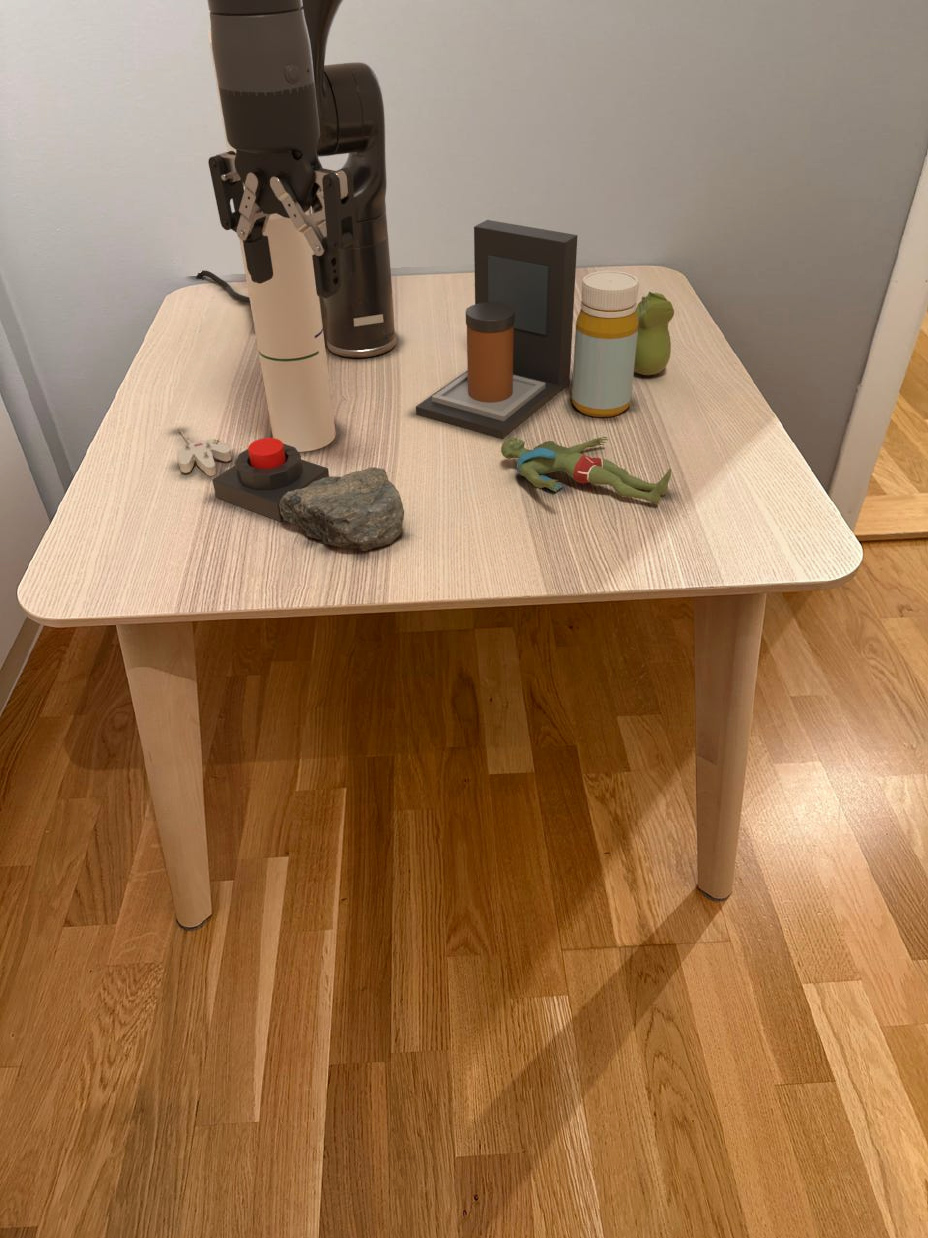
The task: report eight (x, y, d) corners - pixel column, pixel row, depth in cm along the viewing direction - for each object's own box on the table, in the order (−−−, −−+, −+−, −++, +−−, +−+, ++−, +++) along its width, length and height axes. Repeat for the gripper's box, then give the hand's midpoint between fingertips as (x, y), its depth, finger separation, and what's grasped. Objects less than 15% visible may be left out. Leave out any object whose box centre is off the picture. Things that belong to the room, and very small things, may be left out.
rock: (413, 504, 96) (410, 461, 93) (400, 561, 88) (396, 516, 85) (294, 501, 97) (287, 458, 94) (271, 557, 89) (262, 513, 86)
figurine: (648, 499, 87) (473, 454, 93) (640, 536, 89) (469, 491, 95) (686, 448, 100) (530, 412, 105) (679, 483, 102) (526, 445, 107)
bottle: (628, 421, 109) (641, 293, 99) (568, 416, 110) (575, 289, 100) (632, 394, 114) (644, 270, 104) (574, 390, 115) (582, 267, 106)
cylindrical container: (345, 426, 109) (320, 200, 93) (319, 455, 104) (287, 222, 88) (291, 418, 111) (257, 195, 95) (262, 446, 106) (221, 216, 90)
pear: (653, 360, 121) (662, 283, 115) (676, 376, 118) (686, 298, 111) (616, 368, 120) (623, 291, 113) (638, 385, 116) (646, 306, 110)
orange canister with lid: (498, 406, 109) (498, 324, 103) (458, 396, 112) (456, 314, 105) (529, 383, 114) (530, 302, 108) (489, 373, 117) (489, 293, 110)
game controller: (198, 483, 100) (193, 462, 98) (137, 451, 106) (131, 430, 104) (240, 462, 103) (236, 441, 102) (179, 432, 109) (174, 411, 108)
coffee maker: (487, 363, 122) (487, 219, 110) (569, 383, 117) (577, 234, 105) (415, 414, 111) (406, 260, 100) (502, 438, 106) (503, 280, 95)
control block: (215, 497, 98) (208, 464, 95) (267, 464, 103) (261, 431, 100) (280, 521, 94) (274, 487, 91) (330, 485, 99) (326, 452, 97)
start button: (243, 464, 96) (240, 449, 95) (266, 449, 98) (264, 434, 97) (269, 473, 94) (266, 458, 93) (293, 458, 96) (290, 443, 95)
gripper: (367, 76, 73) (384, 288, 83) (231, 63, 79) (262, 262, 89) (305, 94, 68) (331, 316, 78) (165, 78, 74) (206, 287, 84)
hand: (294, 287), depth 84 cm, fingers open, 7 cm apart
